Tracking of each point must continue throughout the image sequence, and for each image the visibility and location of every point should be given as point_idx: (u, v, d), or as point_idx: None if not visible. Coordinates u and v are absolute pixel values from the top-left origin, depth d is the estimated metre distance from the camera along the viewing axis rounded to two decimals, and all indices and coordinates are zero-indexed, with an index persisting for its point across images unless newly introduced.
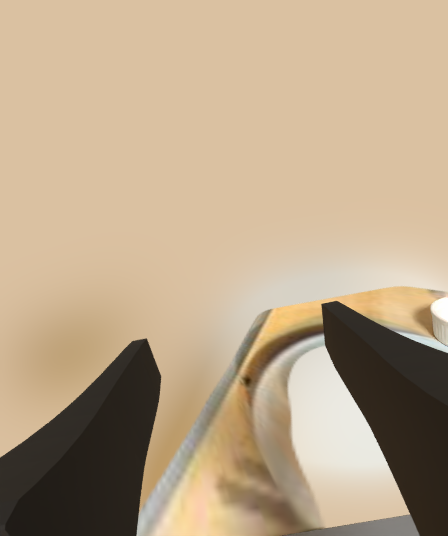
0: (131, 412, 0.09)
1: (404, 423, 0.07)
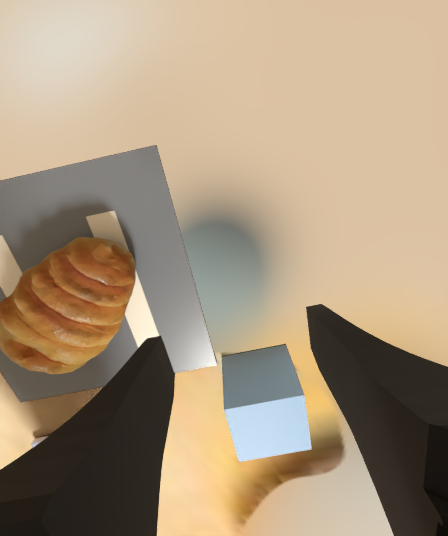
0: (149, 409, 0.09)
1: (378, 427, 0.07)
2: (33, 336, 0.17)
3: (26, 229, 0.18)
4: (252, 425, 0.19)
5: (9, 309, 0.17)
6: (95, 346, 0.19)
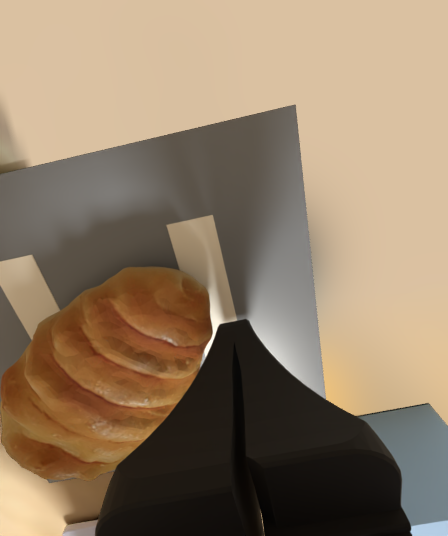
0: (240, 392, 0.09)
1: None
2: (58, 432, 0.10)
3: (70, 246, 0.11)
4: None
5: (17, 389, 0.10)
6: None
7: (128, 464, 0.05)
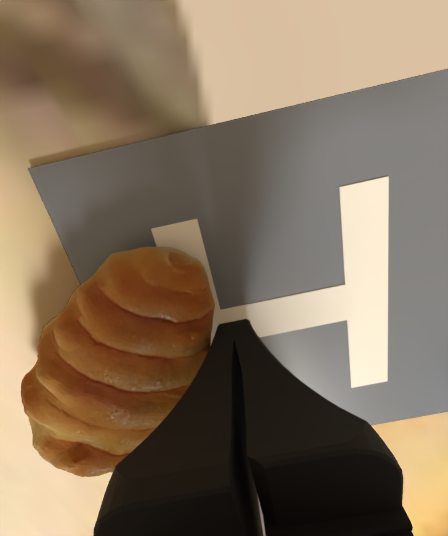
0: (239, 392, 0.09)
1: None
2: (80, 428, 0.10)
3: (237, 210, 0.11)
4: None
5: (35, 392, 0.10)
6: None
7: (127, 463, 0.05)
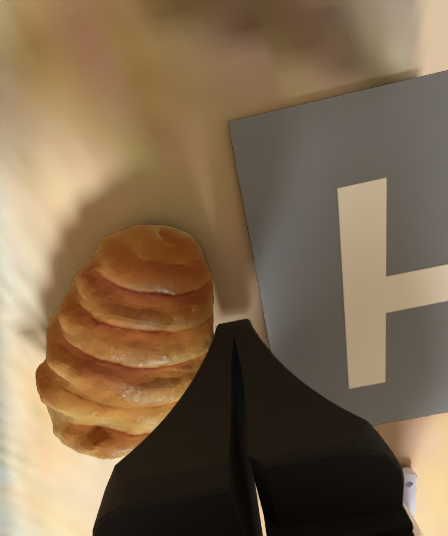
0: (239, 392, 0.09)
1: None
2: (95, 410, 0.10)
3: (429, 168, 0.11)
4: None
5: (48, 380, 0.11)
6: None
7: (126, 463, 0.05)
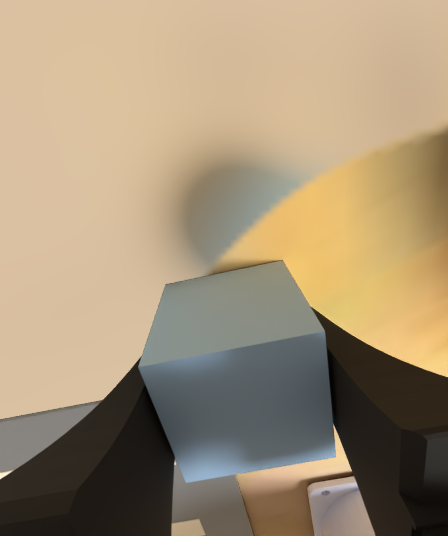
0: None
1: (360, 431, 0.07)
2: None
3: None
4: (230, 443, 0.09)
5: None
6: None
7: None
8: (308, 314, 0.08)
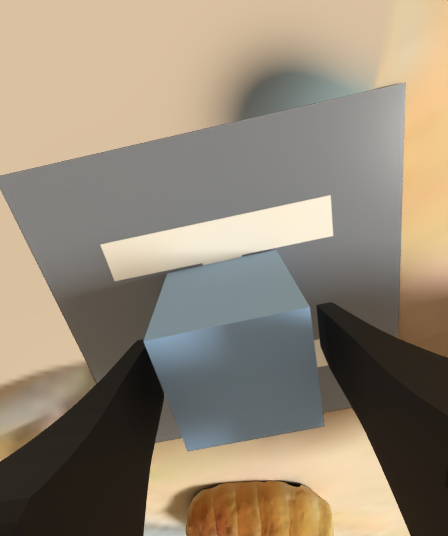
0: (137, 411, 0.09)
1: (395, 425, 0.07)
2: None
3: None
4: (227, 413, 0.10)
5: None
6: (291, 524, 0.18)
7: None
8: (296, 294, 0.09)
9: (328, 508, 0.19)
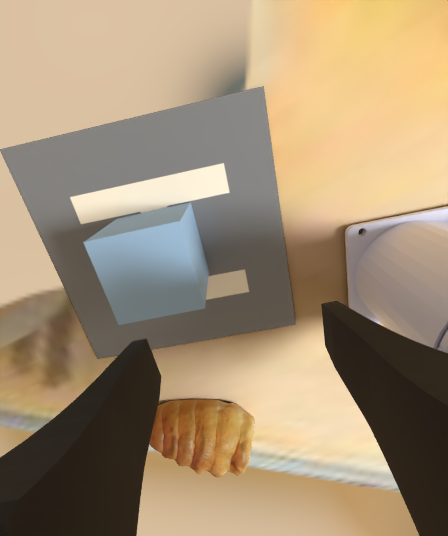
0: (131, 412, 0.09)
1: (404, 423, 0.07)
2: (216, 466, 0.24)
3: None
4: (140, 296, 0.16)
5: (210, 472, 0.26)
6: (218, 425, 0.24)
7: None
8: (179, 217, 0.15)
9: (251, 418, 0.25)
